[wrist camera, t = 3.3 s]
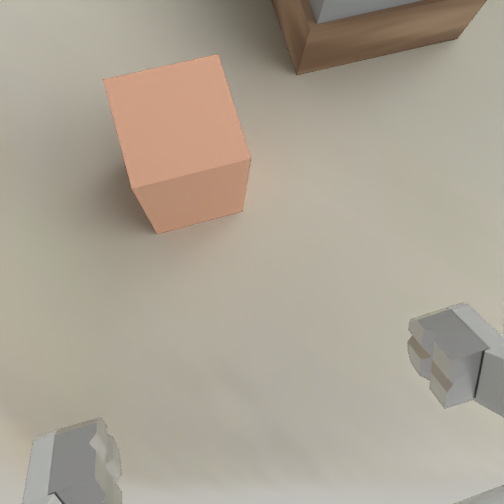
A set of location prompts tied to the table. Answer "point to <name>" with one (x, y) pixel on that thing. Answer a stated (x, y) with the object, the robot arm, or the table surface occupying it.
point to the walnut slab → (369, 31)
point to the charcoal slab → (349, 8)
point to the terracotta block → (181, 142)
